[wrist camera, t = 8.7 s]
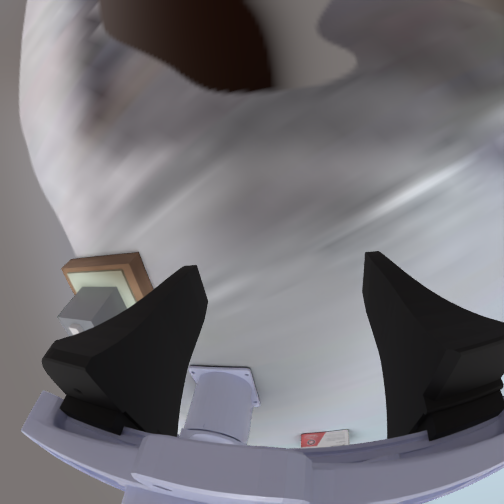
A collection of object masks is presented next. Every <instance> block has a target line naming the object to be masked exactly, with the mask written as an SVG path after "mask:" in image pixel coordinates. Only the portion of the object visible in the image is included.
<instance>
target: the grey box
mask: <svg viewBox="0 0 504 504" xmlns="http://www.w3.org/2000/svg"><path fill="white" fill-rule="evenodd" d="M126 309H127V307H126V305H125V303H124V301H123V299H122V297H121V295H120V293H119V291H118V289H117V287H82V288H81V289H80V290H79V291H78V292H77V293H76V295H75V296H74V297H73V298H72V299H71V301H70V302H69V303H68V304H67V305H66V306H65V308H64V309H63V310H62V311H61V313H60V314H59V315H58V316H57V318H58V319H59V321H60V322H61V324H62V326H63V327H64V329H65V330H66V332H67V333H68V335H69V336H72V335H75V334H78V333H81V332H83V331H86V330H88V329H90V328H93V327H95V326H97V325H99V324H101V323H103V322H105V321H107V320H109V319H111V318H112V317H114V316H116V315H118V314H120V313H121V312H123V311H124V310H126Z"/></svg>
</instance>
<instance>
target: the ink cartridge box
mask: <svg viewBox="0 0 504 504" xmlns="http://www.w3.org/2000/svg"><path fill="white" fill-rule="evenodd" d="M343 445H349V432H348V430H347V429H345V430H338V431H330V432H320V433H309V434H302V435H301V448H319V447H333V446H343Z"/></svg>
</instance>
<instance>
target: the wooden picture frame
mask: <svg viewBox="0 0 504 504" xmlns="http://www.w3.org/2000/svg"><path fill="white" fill-rule="evenodd" d="M62 271H63V273H64V275H65V277H66V279H67V281H68V283H69V285H70V287H71V289H72V291H73V293H74V295H76V293H77V292H78V291H79V290H80V289H81V288H82V287H117V289H118V291H119V293H120V295H121V297H122V299H123V301H124V303H125V305H126V307H127V309H128V308H129V307H131V306H132V305H134V304H135V303H136V302H138V301H139V300H140V299H142V298H143V297H144V296H146V295H147V294H148V293H150V292H151V291H152V290H153V287H152V285H151V283H150V280H149V278H148V275H147V273H146V270H145V268H144V265H143V263H142V260H141V257H140V255H139V252H136V253H126V254H116V255H106V256H96V257H87V258H77V259H71V260H70V261H69V262H68V263H67V264H66V265H64V266H63V267H62Z"/></svg>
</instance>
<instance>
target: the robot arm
mask: <svg viewBox="0 0 504 504" xmlns="http://www.w3.org/2000/svg"><path fill="white" fill-rule="evenodd" d="M362 293H363V298H364V303H365V308H366V313H367V316H368V319H369V322H370V325H371V328H372V332H373V335H374V338H375V341H376V345H377V348H378V351H379V355H380V359H381V365H382V371H383V378H384V386H385V396H386V409H387V439H385V440H379V441H373V442H367V443H360V444H352V445H343V446H333V447H319V448H294V449H286V448H275V447H265V446H247V444H246V443H247V441H248V438H249V431H250V424H251V418H252V411H253V407H258V406H260V401H259V397H258V394H257V391H256V387H255V384H254V380H253V377H252V374H251V370H250V369H248V368H223V367H201V366H189V372H190V373H191V375H192V377H193V379H194V381H195V382H196V384H197V385H196V389H195V392H194V395H193V399H192V402H191V405H190V409H189V412H188V415H187V419H186V422H185V425H184V429H183V428H182V429H181V433H180V436H179V434H177V433H178V421H179V413H180V405H181V399H182V393H183V388H184V383H185V378H186V373H187V369H188V365H189V362H190V359H191V356H192V353H193V350H194V348H195V345H196V342H197V339H198V337H199V334H200V331H201V328H202V325H203V322H204V319H205V315H206V310H207V304H208V299H207V296H206V293H205V290H204V287H203V284H202V281H201V277H200V274H199V271H198V268H197V265H191V266H184V267H182V268H180V269H179V270H178V271H176V272H175V273H174V274H172V275H171V276H170V277H169V278H167V279H166V280H165V281H164V282H162V283H161V284H160V285H159V286H157V287H156V288H155V289H154V290H152V291H151V292H150V293H148V294H147V295H146V296H144V297H143V298H142V299H140V300H139V301H138V302H136V303H135V304H134V305H132V306H131V307H129V308H128V309H126V310H124V311H123V312H121V313H120V314H118V315H116V316H114V317H112V318H111V319H109V320H107V321H105V322H103V323H101V324H99V325H97V326H95V327H93V328H90V329H88V330H86V331H83V332H81V333H78V334H75V335H72V336H69V337H66V338H63V339H60V340H56V341H55V342H54V343H53V344H52V345H51V347H50V348H49V350H48V351H47V353H46V354H45V356H44V357H43V358H42V364H43V368H44V369H45V371H46V372H47V374H48V375H49V376H50V377H51V379H52V380H53V381H54V382H55V383H56V384H57V385H58V386H59V388H60V389H61V390H62V391H63V392H64V393H65V394H66V397H65V399H64V400H63V399H62V398H60V397H59V396H57V395H54V394H52V393H50V392H47V391H45V390H43V391H42V393H41V395H40V396H39V398H38V400H37V401H36V403H35V405H34V407H33V408H32V411H31V412H30V414H29V416H28V418H27V419H26V421H25V423H24V425H23V427H22V429H21V431H22V432H23V433H24V434H25V435H26V436H28V437H29V438H30V439H31V440H33V441H34V442H35V443H37V444H38V445H39V446H41V447H42V448H44V449H45V450H47V451H48V452H49V453H51V454H52V455H54V456H55V457H57V458H58V459H60V460H62V461H63V462H65V463H67V464H69V465H71V466H73V467H74V468H76V469H78V470H80V471H82V472H84V473H86V474H87V475H89V476H91V477H94V478H96V479H98V480H100V481H102V482H104V483H106V484H108V485H111V486H113V487H116V488H118V489H120V490H123V491H125V494H124V497H123V500H122V503H121V504H422V503H425V502H428V501H431V500H434V499H437V498H440V497H442V496H445V495H447V494H450V493H453V492H455V491H457V490H459V489H462V488H464V487H466V486H469V485H471V484H473V483H475V482H477V481H479V480H481V479H483V478H485V477H487V476H489V475H491V474H493V473H495V472H497V471H498V470H500V469H502V468H504V396H502V393H501V391H500V389H502V388H503V382H502V380H501V377H502V375H503V374H504V322H500V321H497V320H493V319H490V318H486V317H484V316H481V315H478V314H476V313H473V312H471V311H468V310H466V309H464V308H461V307H459V306H457V305H455V304H453V303H451V302H449V301H447V300H446V299H444V298H442V297H440V296H439V295H437V294H435V293H434V292H432V291H431V290H429V289H427V288H426V287H424V286H423V285H422V284H420V283H419V282H417V281H416V280H415V279H413V278H412V277H411V276H409V275H408V274H407V273H406V272H404V271H403V270H402V269H401V268H399V267H398V266H397V265H396V264H394V263H393V262H392V261H391V260H390V259H388V258H387V257H386V256H385V255H383V254H382V253H381V252H379V251H375V252H365V262H364V277H363V289H362Z"/></svg>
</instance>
